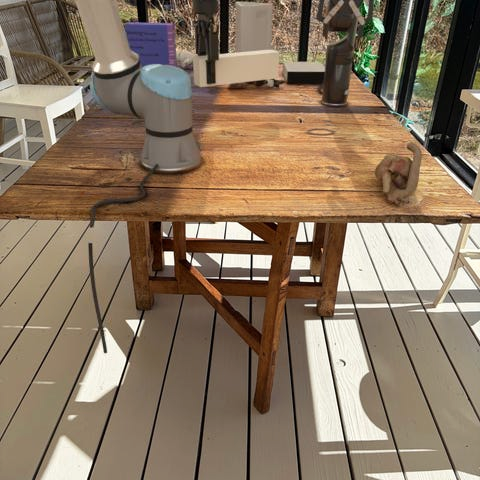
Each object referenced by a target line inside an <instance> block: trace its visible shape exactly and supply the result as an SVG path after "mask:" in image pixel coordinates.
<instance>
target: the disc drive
mask: <svg viewBox="0 0 480 480" xmlns="http://www.w3.org/2000/svg"><path fill="white" fill-rule="evenodd" d="M281 71H282V74H283V76H284V80H286V84H287V85H321V82H324V72H325V64H323V63H322V62H321V61H282V69H281Z"/></svg>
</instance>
